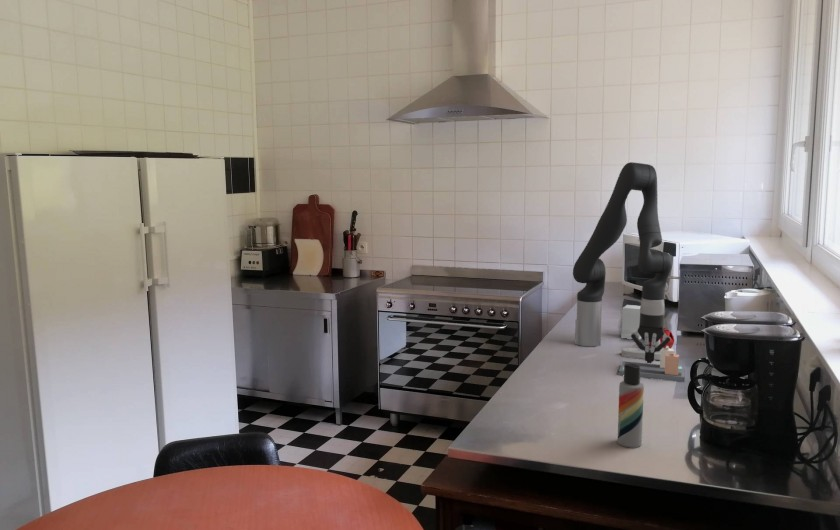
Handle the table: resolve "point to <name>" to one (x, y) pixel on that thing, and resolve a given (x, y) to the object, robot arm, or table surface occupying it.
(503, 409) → the table surface
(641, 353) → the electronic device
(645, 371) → the switch panel
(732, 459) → the table surface
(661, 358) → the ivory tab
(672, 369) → the terracotta tab
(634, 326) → the supplement box
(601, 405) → the table surface
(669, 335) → the pomegranate
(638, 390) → the lotion bottle
